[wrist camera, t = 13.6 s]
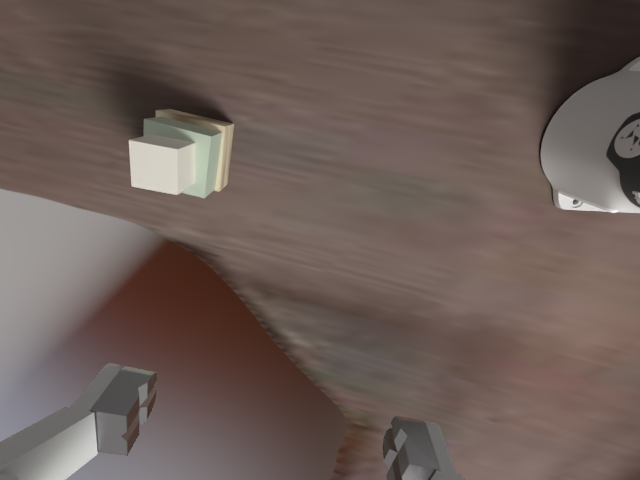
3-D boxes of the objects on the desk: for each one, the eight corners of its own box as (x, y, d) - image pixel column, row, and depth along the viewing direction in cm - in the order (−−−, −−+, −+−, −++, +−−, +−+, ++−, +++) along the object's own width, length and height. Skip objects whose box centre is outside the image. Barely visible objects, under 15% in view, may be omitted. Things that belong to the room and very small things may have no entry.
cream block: (195, 142, 34) (177, 149, 30) (194, 183, 36) (177, 194, 32) (152, 134, 34) (128, 140, 30) (154, 175, 35) (131, 186, 31)
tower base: (234, 123, 41) (225, 126, 37) (228, 183, 44) (219, 191, 40) (171, 108, 40) (155, 110, 36) (169, 170, 43) (155, 177, 40)
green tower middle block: (222, 132, 37) (211, 136, 34) (215, 188, 40) (204, 198, 36) (161, 116, 37) (143, 118, 33) (159, 174, 39) (142, 182, 36)
